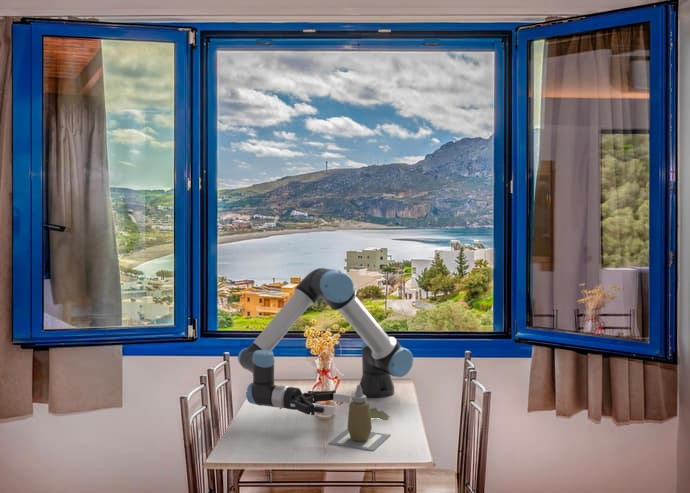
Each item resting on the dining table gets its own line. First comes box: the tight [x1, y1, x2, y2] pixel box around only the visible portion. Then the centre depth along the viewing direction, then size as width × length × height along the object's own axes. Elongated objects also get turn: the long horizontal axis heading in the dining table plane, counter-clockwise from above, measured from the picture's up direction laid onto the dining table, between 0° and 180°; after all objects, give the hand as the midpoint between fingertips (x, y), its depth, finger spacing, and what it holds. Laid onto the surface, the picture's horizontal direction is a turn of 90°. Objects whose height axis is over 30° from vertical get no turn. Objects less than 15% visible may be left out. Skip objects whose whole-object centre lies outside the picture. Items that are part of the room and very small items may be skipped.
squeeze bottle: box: [347, 384, 373, 441], centre depth 200 cm, size 8×8×18 cm
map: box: [370, 407, 391, 421], centre depth 222 cm, size 11×18×1 cm, turn 15°
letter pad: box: [328, 427, 391, 452], centre depth 200 cm, size 15×16×1 cm
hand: (342, 404), depth 202 cm, fingers open, 13 cm apart
